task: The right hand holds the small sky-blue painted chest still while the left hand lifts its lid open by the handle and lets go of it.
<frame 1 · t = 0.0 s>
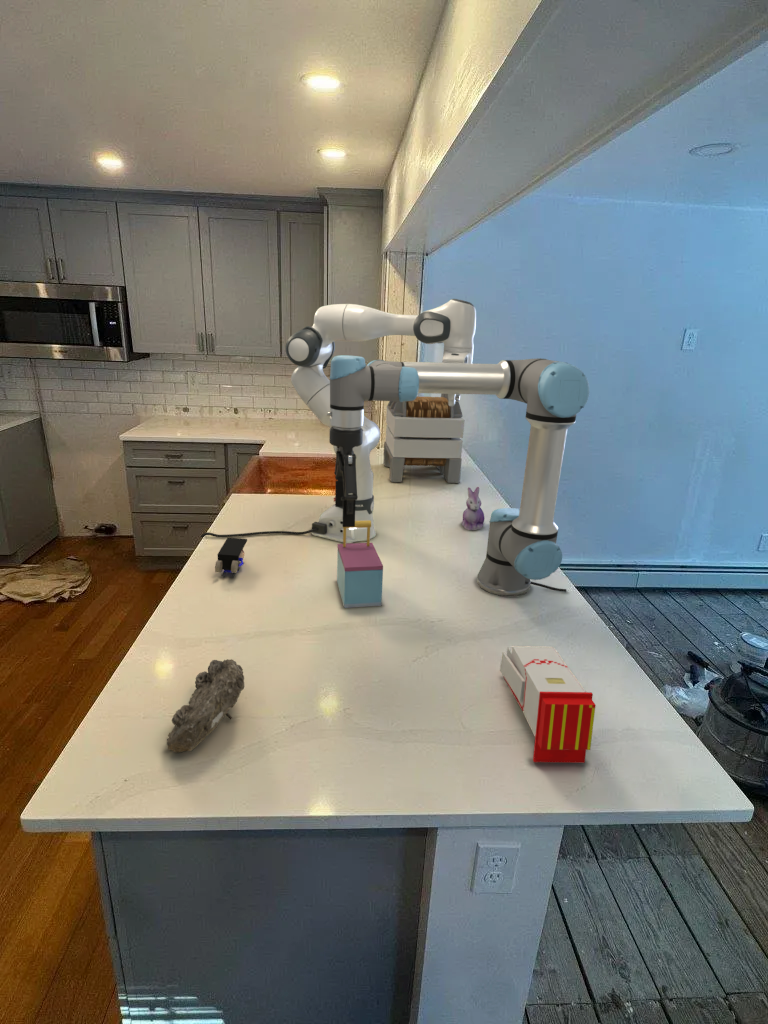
left hand: (454, 403, 174), 48 cm above the counter, tool pointing down, fingers open, 8 cm apart
right hand: (344, 515, 134), 28 cm above the counter, tool pointing down, fingers open, 13 cm apart
toy: (536, 712, 113), on the counter
fossil: (212, 717, 108), on the counter
figurine character: (232, 569, 168), on the counter
chest: (358, 593, 157), on the counter
figurine: (472, 526, 210), on the counter
lid: (359, 543, 152), point 15 cm above the counter, hinge at 0.0°
transformer: (419, 473, 275), on the counter
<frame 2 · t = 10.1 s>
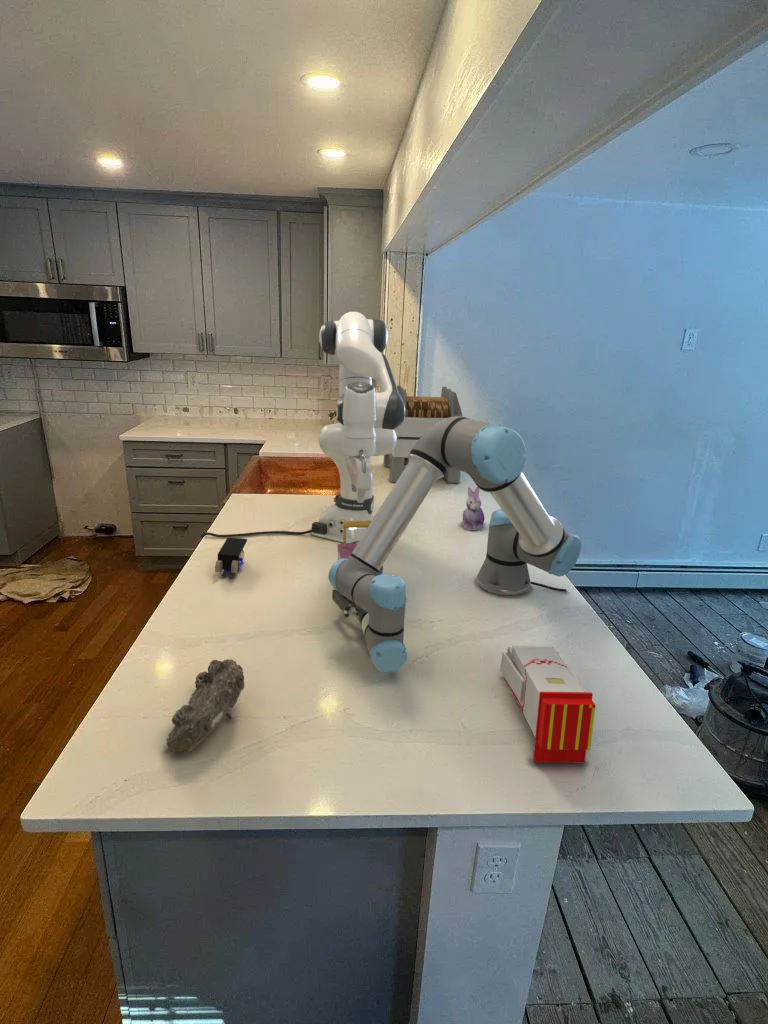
left hand: (357, 496, 154), 26 cm above the counter, tool pointing down, fingers open, 8 cm apart
right hand: (361, 579, 152), 6 cm above the counter, tool horizontal, fingers closed on chest, 10 cm apart
chest: (358, 593, 157), on the counter, touching right hand
everything else where it was.
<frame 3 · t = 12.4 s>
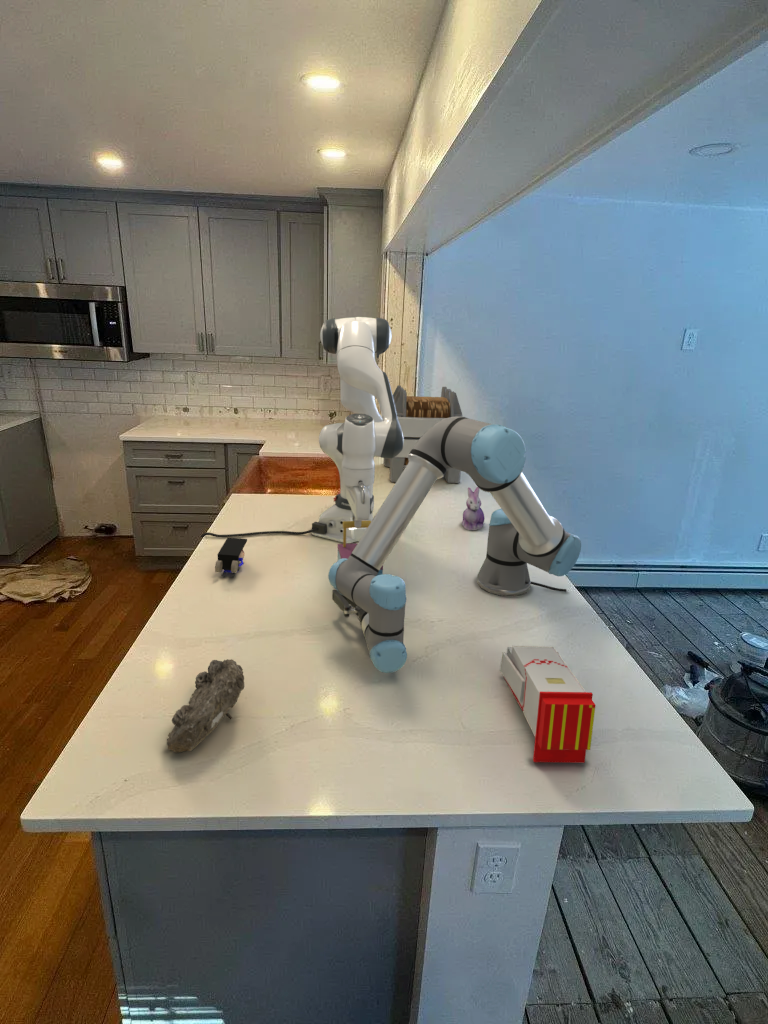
left hand: (356, 524, 156), 18 cm above the counter, tool pointing down, fingers closed on lid, 2 cm apart
right hand: (361, 579, 152), 6 cm above the counter, tool horizontal, fingers closed on chest, 10 cm apart
chest: (358, 593, 157), on the counter, touching right hand
lid: (359, 543, 153), point 15 cm above the counter, hinge at -0.2°, touching left hand
everything else where it was.
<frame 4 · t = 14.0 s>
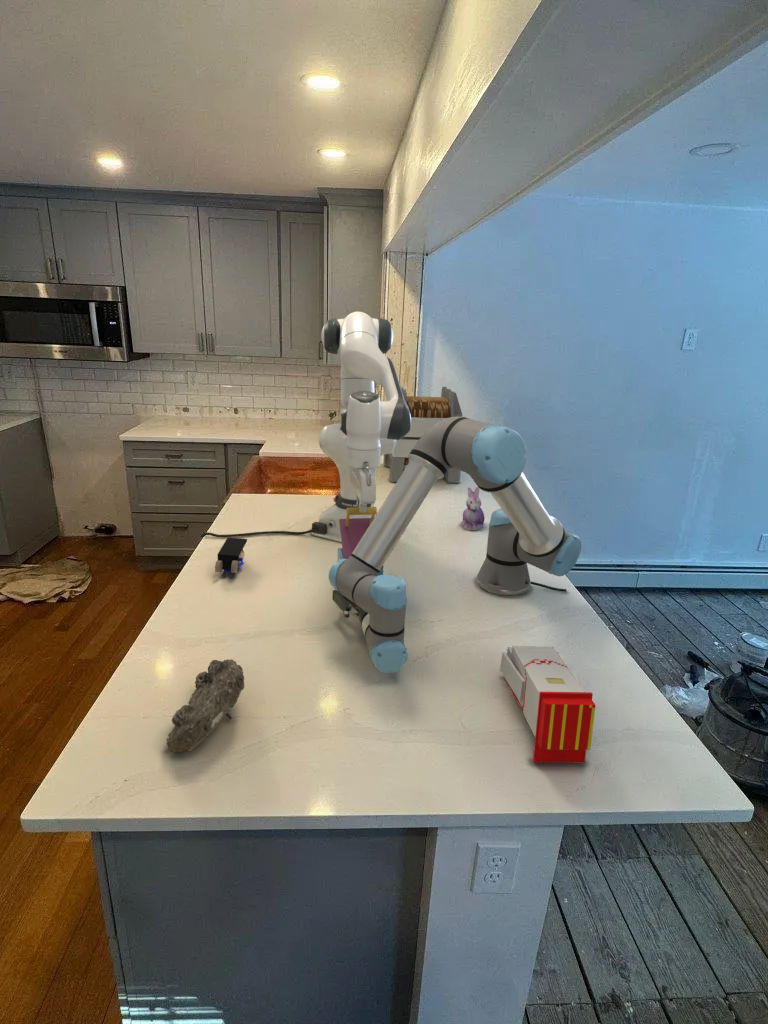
left hand: (361, 509, 148), 25 cm above the counter, tool pointing down, fingers closed
right hand: (361, 579, 151), 6 cm above the counter, tool horizontal, fingers closed on chest, 10 cm apart
chest: (358, 593, 157), on the counter, touching right hand
lid: (362, 535, 148), point 19 cm above the counter, hinge at 34.1°, touching left hand
everything else where it was.
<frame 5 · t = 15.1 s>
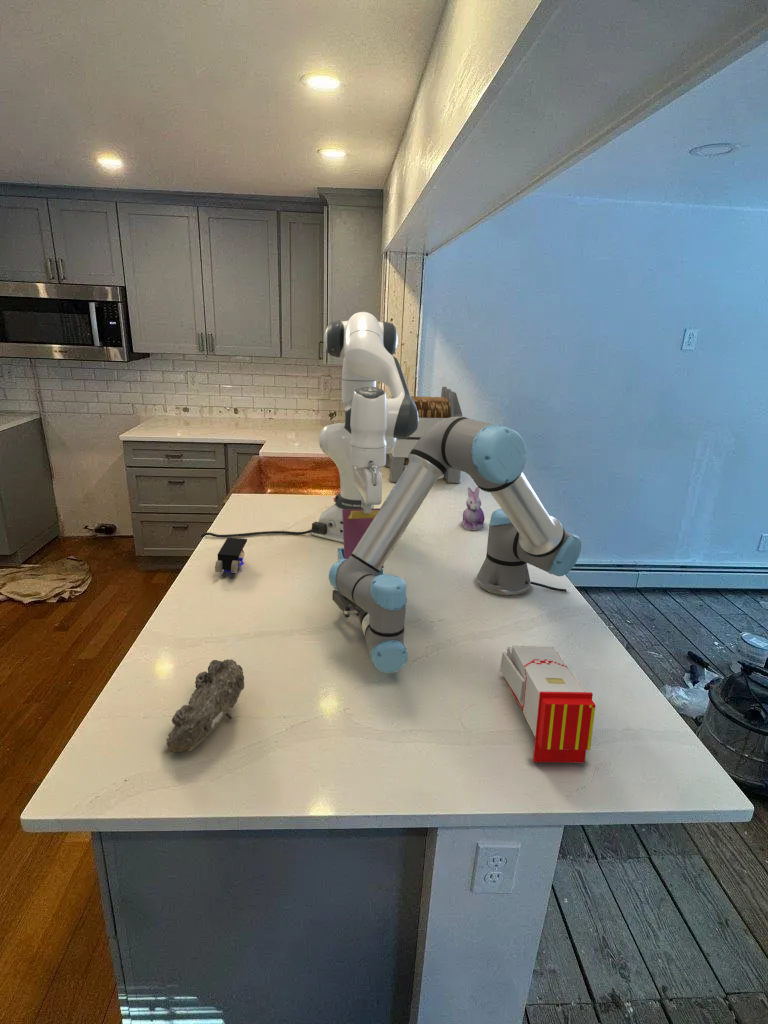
left hand: (366, 511, 141), 27 cm above the counter, tool pointing down, fingers closed, pressing on lid
right hand: (361, 579, 151), 6 cm above the counter, tool horizontal, fingers closed on chest, 10 cm apart
chest: (358, 593, 157), on the counter, touching right hand
lid: (365, 537, 144), point 20 cm above the counter, hinge at 62.1°, touching left hand
everything else where it was.
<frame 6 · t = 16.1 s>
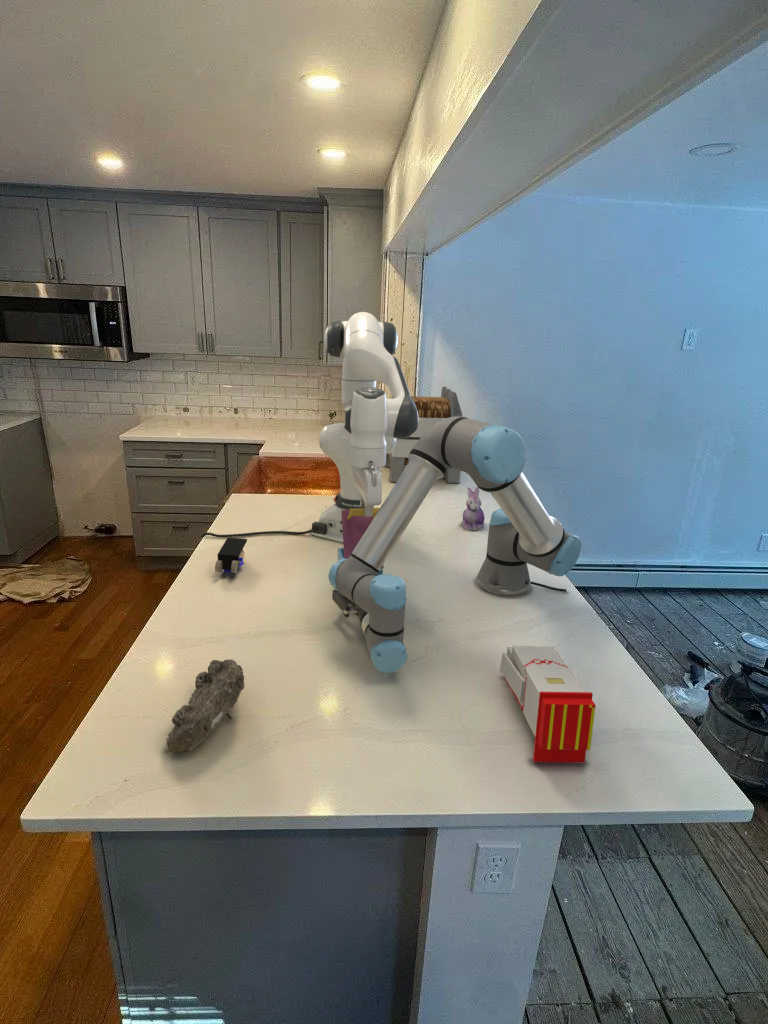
left hand: (366, 511, 141), 27 cm above the counter, tool pointing down, fingers open, 5 cm apart
right hand: (361, 579, 152), 6 cm above the counter, tool horizontal, fingers closed on chest, 10 cm apart
chest: (358, 593, 157), on the counter, touching right hand
lid: (364, 536, 145), point 20 cm above the counter, hinge at 55.7°, touching left hand
everything else where it was.
when the right hand's fingers open (6 cm above the counter, at t = 19.4 s): chest stays where it is, on the counter.
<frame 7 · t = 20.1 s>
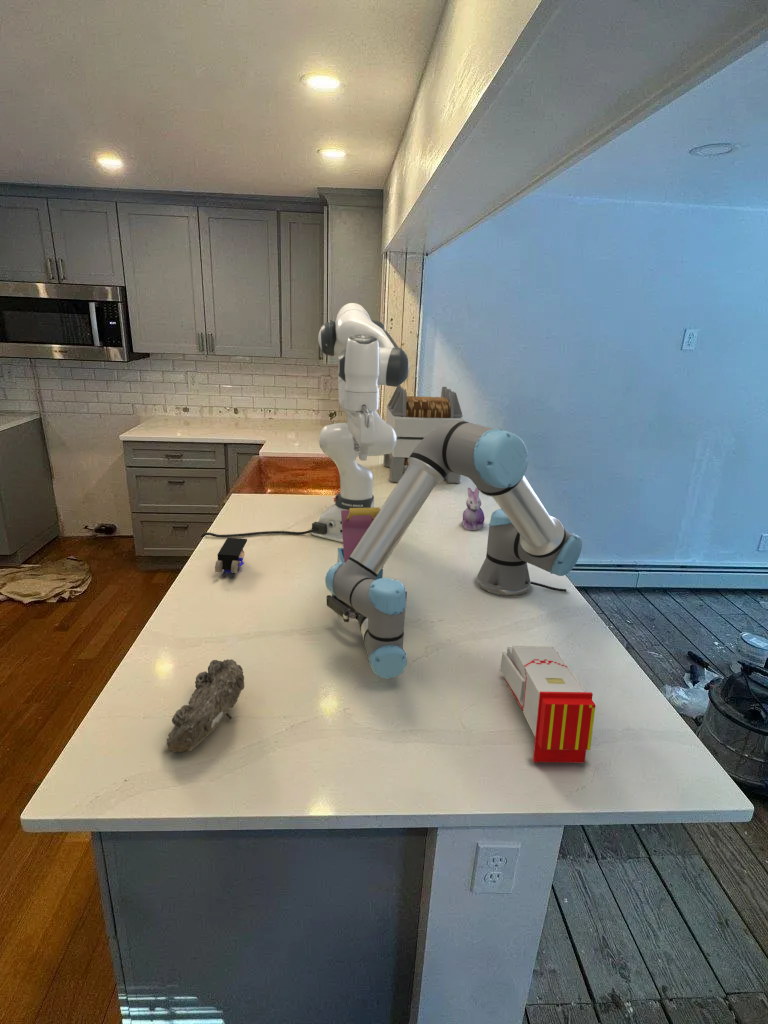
left hand: (359, 455, 148), 38 cm above the counter, tool pointing down, fingers open, 8 cm apart
right hand: (362, 584, 149), 6 cm above the counter, tool horizontal, fingers open, 13 cm apart
chest: (358, 593, 157), on the counter
lid: (364, 535, 145), point 20 cm above the counter, hinge at 54.7°
everything else where it was.
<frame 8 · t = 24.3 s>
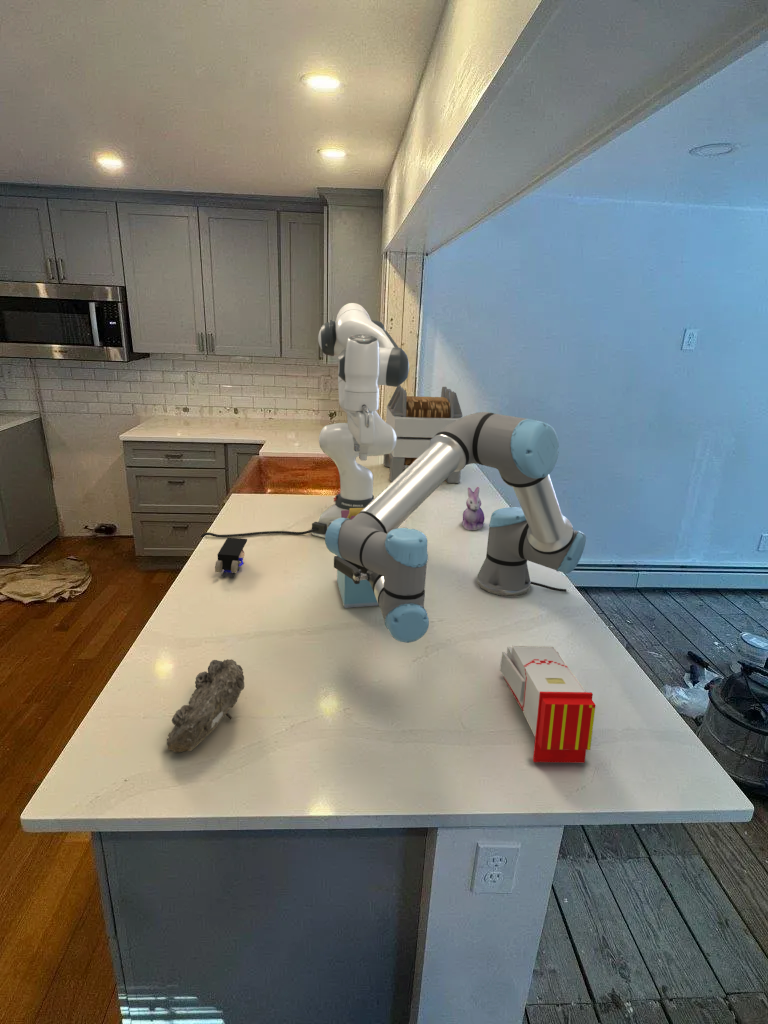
left hand: (359, 455, 148), 38 cm above the counter, tool pointing down, fingers open, 8 cm apart
right hand: (372, 546, 134), 22 cm above the counter, tool horizontal, fingers open, 13 cm apart
nothing on the counter moved.
at the end: lid at +55° (first picture: +0°); the left hand is holding nothing; the right hand is holding nothing; chest tilted 0°; chest never tilted more than 1° during the clip; chest moved 0.1 cm from its start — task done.
